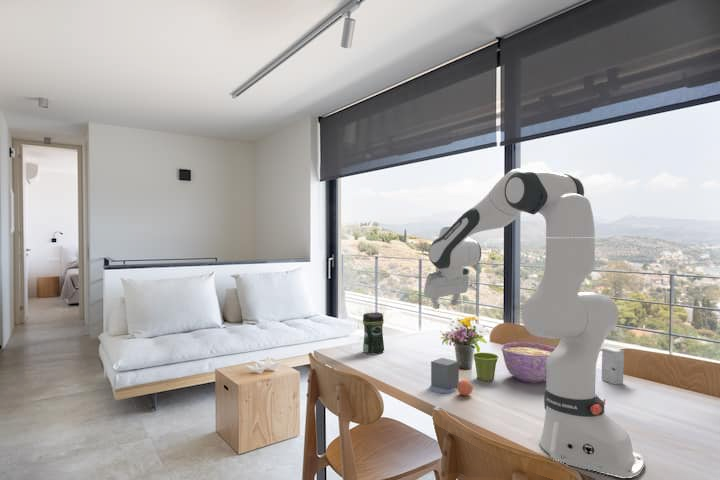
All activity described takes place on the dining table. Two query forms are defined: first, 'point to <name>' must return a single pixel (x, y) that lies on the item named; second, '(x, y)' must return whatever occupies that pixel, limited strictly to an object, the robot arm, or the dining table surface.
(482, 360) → the plant pot
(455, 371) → the grey upright box
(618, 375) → the skincare box
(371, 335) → the coffee jar
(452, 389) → the circle
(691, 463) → the dining table surface
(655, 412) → the dining table surface
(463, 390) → the ball
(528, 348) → the bowl of food
